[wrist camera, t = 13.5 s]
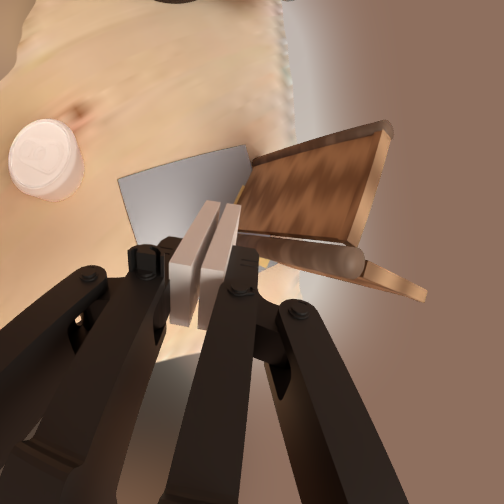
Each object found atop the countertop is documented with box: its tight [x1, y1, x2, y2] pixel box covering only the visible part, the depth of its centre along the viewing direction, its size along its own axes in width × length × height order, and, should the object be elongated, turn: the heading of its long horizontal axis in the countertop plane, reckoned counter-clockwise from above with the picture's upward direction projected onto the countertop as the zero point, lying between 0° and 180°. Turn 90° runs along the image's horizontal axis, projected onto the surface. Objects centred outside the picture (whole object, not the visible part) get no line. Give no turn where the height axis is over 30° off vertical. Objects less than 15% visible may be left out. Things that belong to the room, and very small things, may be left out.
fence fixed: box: [236, 120, 394, 279], centre depth 33 cm, size 16×2×26 cm, turn 152°
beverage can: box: [8, 119, 84, 202], centre depth 26 cm, size 8×8×12 cm
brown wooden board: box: [272, 260, 427, 303], centre depth 36 cm, size 12×1×25 cm, turn 69°
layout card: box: [118, 145, 278, 299], centre depth 42 cm, size 20×20×1 cm
